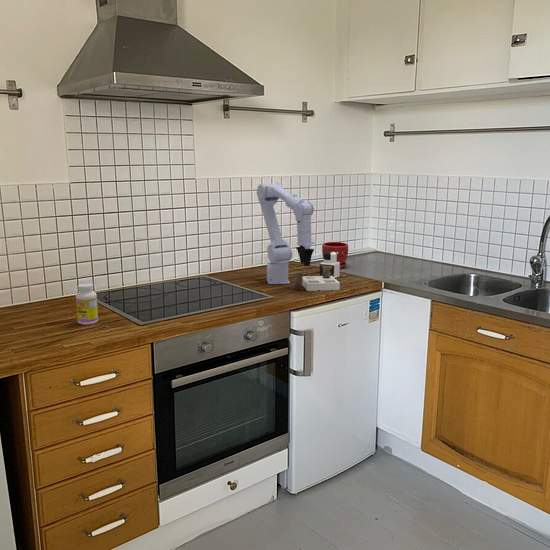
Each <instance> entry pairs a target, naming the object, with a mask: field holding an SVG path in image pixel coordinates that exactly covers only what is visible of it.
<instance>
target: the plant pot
mask: <svg viewBox="0 0 550 550" xmlns="http://www.w3.org/2000/svg"><path fill="white" fill-rule="evenodd" d="M321 248H322V249H321V253H322V254H321V255H322V256H323V255H324V253H325V252H335V253H337V261H336V262H340V269H344V268H345V267H346V266H347V263H346V260H347V259H348V256H349V244H348V243H346V242H341V241H327V242H324V243H322V246H321ZM343 267H344V268H343Z"/></svg>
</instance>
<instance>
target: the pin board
mask: <svg viewBox="0 0 550 550" xmlns="http://www.w3.org/2000/svg"><path fill="white" fill-rule="evenodd" d="M302 288H304V289H305V290H306V292H312V291H313V292H314V291H315V292H317V291H318V290H320V291H340V288H341V283H340V282H339V281H338V280H337V278H336V279H335V278H334V277H333V276H330V266H323V276H320V275H316V276H314V275H313V276H308V275H307V276H303V284H302Z"/></svg>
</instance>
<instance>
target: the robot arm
mask: <svg viewBox="0 0 550 550" xmlns="http://www.w3.org/2000/svg"><path fill="white" fill-rule="evenodd" d="M256 196H257V200H258V203H259V205H260V207H261V212H262V215H263V219H264V222H265V226H266V229H267V232H268V236H269V240H270V243H269V244H268V246H267V248H266V250H267V259H268V260H269V262H267V264H266V282H267V284H268V285H278V284H279V285H281V284H283V285H284V284H285V285H286V284H289V285H290V284H291V281H290V280H289V263H290V261H291V260H292V258H293V250H292V248H291V247H290V245H289V243H288V242H287V241H286V240H285V239H283V237H282V232H281V229H280V225H279V221H278V217H277V214H276V210H275V208H274V206H275V205H276V204H277V203H278V201H279V199H280V200H282V201H283V202H285V203H284V204H285V206H286V207H287V208H289V209H290V210H291V211H293V214H294V216H295V221H296V232H297V234H296V235H297V243H296V244H297V247H295V248H296V250H297V253H298V256H299V260H300V263H301V265H303V266H304V267H310V265H311V260H312V256H313V253H314V250H315V248H311V245H314V244H315V241H312V215H313V213H314V210H315V208H314V205H313V203H312V202H311V201H304V199H303V198H300V197H298V195H297V194H296V193H292V194H291V193H289V192H287V191H286V189H284V188H283V185H282V184H280V183H278V182H275V183H259V184H258V186H257V188H256Z"/></svg>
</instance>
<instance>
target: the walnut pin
mask: <svg viewBox="0 0 550 550" xmlns="http://www.w3.org/2000/svg"><path fill="white" fill-rule="evenodd" d="M294 273H295V272H294ZM303 275H304V274H303V273H302V272H296V273H295V278H294V279H295V282H294V283H295V284H294V285H295V287H294V290H295V291H297V292H298V291H299V292H302V291H303V285H302V284H303V277H304V276H303Z"/></svg>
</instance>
